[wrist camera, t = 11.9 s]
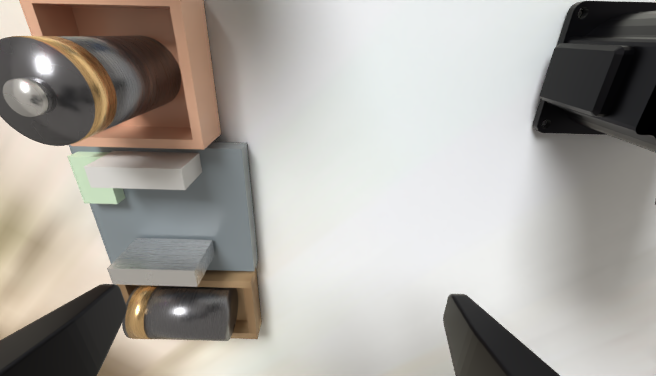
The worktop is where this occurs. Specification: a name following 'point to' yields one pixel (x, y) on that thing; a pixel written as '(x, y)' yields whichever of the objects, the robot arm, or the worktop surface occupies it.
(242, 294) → the trough
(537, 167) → the worktop surface
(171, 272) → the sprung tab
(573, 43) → the robot arm
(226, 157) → the grey flat block
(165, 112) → the salmon pink square tray
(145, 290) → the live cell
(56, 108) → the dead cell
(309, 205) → the worktop surface
